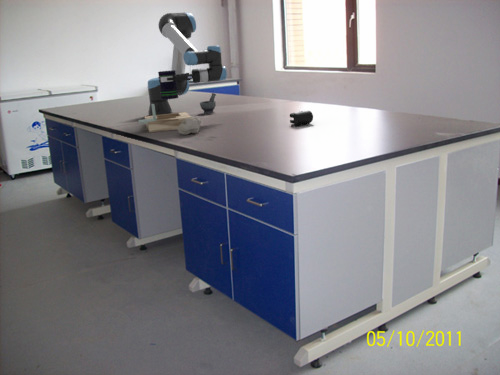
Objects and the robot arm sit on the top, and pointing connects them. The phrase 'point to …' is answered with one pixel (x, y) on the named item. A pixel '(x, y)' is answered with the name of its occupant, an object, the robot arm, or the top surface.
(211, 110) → the mortar and pestle
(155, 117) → the cover
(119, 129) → the top surface
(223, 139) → the top surface
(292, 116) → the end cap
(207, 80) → the robot arm
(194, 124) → the fossil replica
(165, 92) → the dark blue barrel
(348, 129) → the top surface
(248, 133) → the top surface
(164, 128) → the puzzle board
